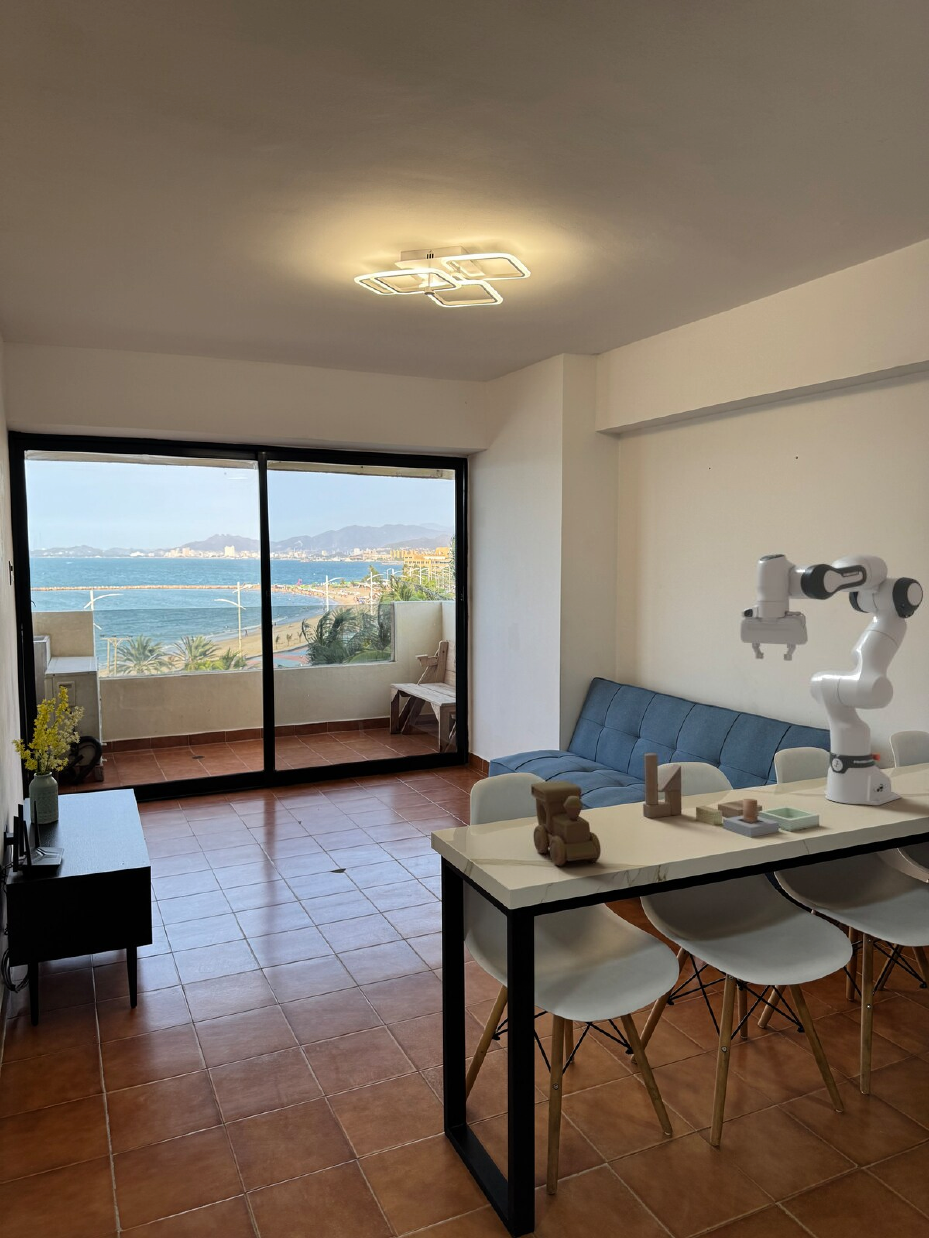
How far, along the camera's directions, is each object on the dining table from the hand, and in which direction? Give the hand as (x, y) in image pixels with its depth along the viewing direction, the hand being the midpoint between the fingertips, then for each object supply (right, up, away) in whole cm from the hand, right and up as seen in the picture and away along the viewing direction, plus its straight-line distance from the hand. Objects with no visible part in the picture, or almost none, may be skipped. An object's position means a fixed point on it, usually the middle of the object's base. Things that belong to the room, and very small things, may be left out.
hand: (773, 659), depth 244 cm
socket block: (-12, -45, -16) cm, 49 cm away
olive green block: (-20, -45, -7) cm, 50 cm away
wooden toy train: (-64, -47, -35) cm, 86 cm away
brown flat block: (-10, -45, -1) cm, 46 cm away
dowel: (-12, -45, -16) cm, 49 cm away
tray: (0, -45, -11) cm, 46 cm away
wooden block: (-32, -45, +1) cm, 55 cm away
